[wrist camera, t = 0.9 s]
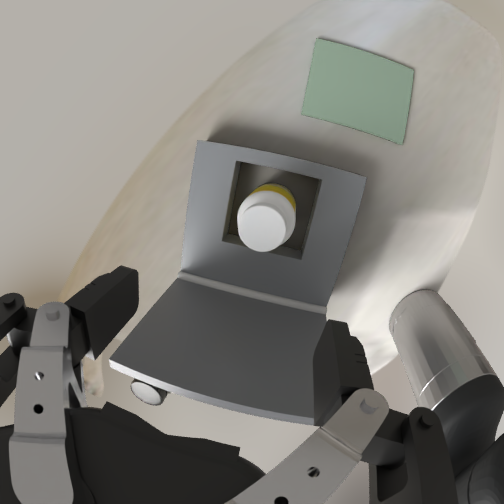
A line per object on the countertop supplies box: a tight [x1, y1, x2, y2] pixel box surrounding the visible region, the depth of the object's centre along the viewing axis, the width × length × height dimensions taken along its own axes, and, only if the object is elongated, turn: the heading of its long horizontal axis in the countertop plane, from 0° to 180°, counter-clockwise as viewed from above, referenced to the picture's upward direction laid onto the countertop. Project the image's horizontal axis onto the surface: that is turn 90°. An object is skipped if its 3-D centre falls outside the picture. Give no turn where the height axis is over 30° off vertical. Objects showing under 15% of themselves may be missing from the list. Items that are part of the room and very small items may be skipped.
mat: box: [301, 38, 414, 145], centre depth 25 cm, size 12×10×1 cm
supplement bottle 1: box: [131, 378, 172, 405], centre depth 35 cm, size 7×7×12 cm
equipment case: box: [109, 140, 367, 425], centre depth 23 cm, size 18×17×19 cm
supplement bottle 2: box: [237, 183, 296, 252], centre depth 27 cm, size 5×5×10 cm
